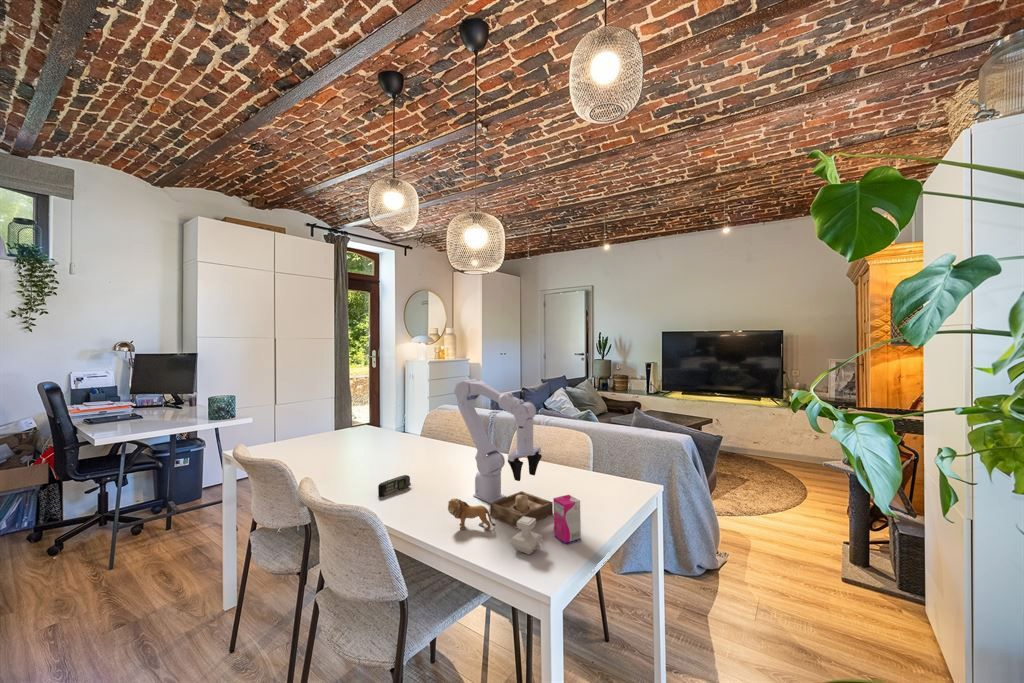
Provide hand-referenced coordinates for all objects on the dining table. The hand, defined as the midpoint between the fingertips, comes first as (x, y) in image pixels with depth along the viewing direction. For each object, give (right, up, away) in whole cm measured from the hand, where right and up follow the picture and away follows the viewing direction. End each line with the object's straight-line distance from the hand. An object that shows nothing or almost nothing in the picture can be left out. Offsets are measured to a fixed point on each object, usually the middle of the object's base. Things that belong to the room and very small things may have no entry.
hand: (524, 477), depth 141 cm
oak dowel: (-1, -10, -7) cm, 12 cm away
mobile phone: (-48, -10, +14) cm, 52 cm away
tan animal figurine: (-17, -10, -16) cm, 26 cm away
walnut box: (-1, -10, -7) cm, 12 cm away
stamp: (0, -11, -29) cm, 31 cm away
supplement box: (+12, -10, -22) cm, 27 cm away
